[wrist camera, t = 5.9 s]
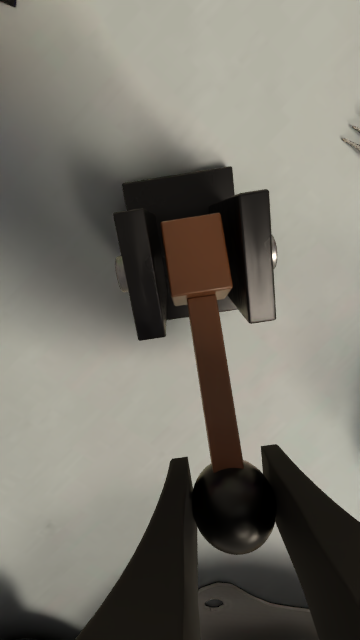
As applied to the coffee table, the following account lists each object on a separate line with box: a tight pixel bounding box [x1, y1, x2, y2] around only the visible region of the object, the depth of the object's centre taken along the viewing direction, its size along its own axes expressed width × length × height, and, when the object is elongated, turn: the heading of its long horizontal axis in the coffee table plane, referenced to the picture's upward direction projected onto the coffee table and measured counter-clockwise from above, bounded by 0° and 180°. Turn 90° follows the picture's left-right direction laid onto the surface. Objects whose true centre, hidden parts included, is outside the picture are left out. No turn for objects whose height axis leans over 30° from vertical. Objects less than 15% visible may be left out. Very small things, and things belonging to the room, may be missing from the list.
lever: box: [160, 213, 276, 555], centre depth 12 cm, size 12×3×3 cm, turn 8°
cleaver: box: [198, 583, 319, 640], centre depth 30 cm, size 27×1×10 cm
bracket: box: [113, 167, 277, 341], centre depth 15 cm, size 8×6×9 cm
